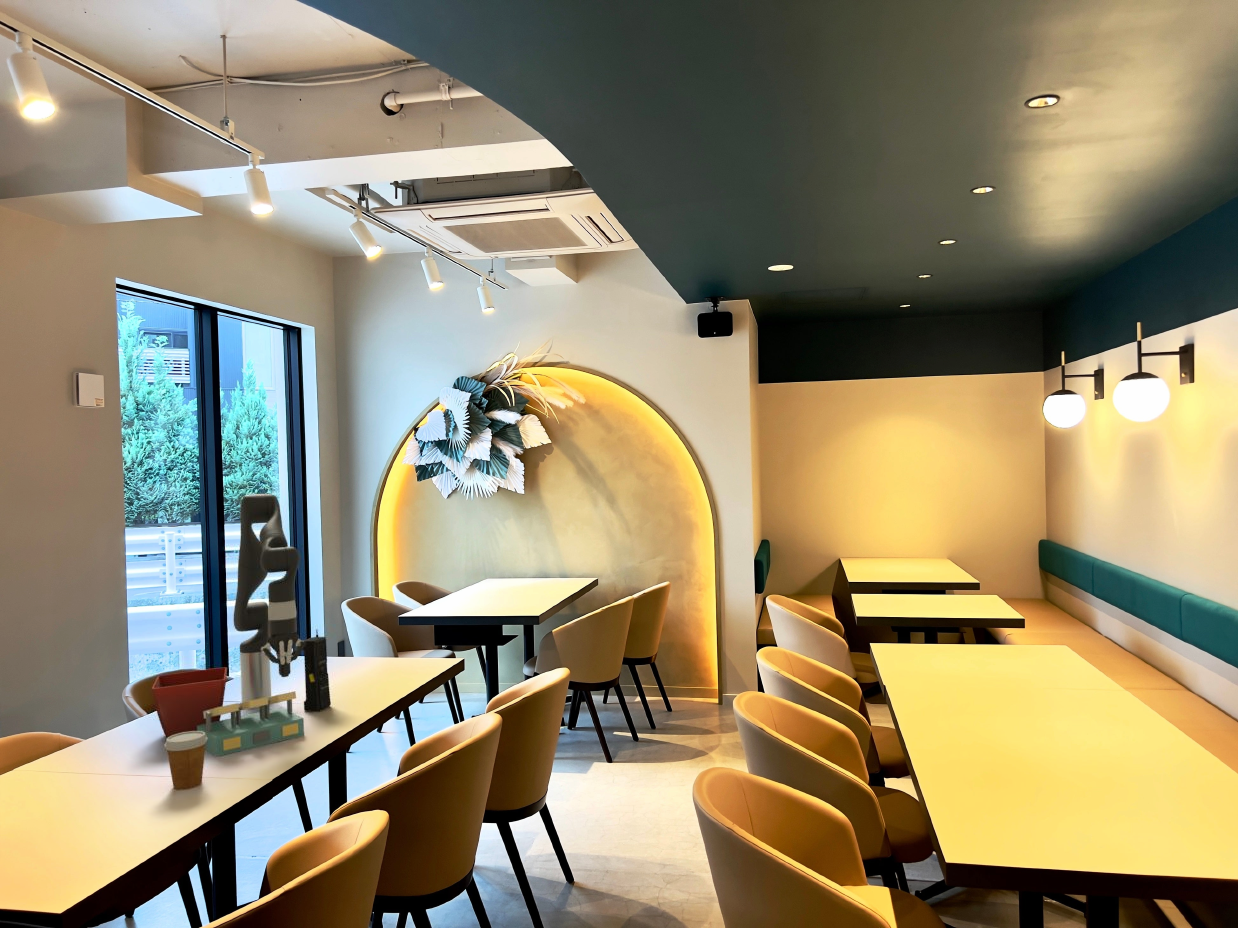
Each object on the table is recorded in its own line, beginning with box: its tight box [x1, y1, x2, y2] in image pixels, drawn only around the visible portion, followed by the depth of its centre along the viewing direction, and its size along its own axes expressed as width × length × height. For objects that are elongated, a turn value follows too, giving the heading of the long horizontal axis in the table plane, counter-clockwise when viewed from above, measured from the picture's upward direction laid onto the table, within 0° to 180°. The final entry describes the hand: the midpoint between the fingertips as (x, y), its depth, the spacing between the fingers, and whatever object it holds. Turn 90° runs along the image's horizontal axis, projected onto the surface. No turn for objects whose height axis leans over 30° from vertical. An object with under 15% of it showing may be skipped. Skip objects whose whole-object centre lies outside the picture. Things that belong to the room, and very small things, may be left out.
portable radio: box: [302, 629, 332, 713], centre depth 275 cm, size 8×6×25 cm
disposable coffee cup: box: [163, 731, 208, 790], centre depth 211 cm, size 10×10×12 cm
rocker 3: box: [267, 691, 297, 706], centre depth 252 cm, size 15×5×2 cm, turn 42°
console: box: [197, 699, 305, 757], centre depth 246 cm, size 17×24×10 cm
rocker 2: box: [238, 697, 268, 712], centre depth 246 cm, size 15×5×2 cm, turn 42°
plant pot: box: [151, 666, 228, 739], centre depth 254 cm, size 19×19×17 cm
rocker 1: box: [203, 702, 239, 718], centre depth 241 cm, size 15×5×2 cm, turn 42°
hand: (284, 676), depth 247 cm, fingers closed
